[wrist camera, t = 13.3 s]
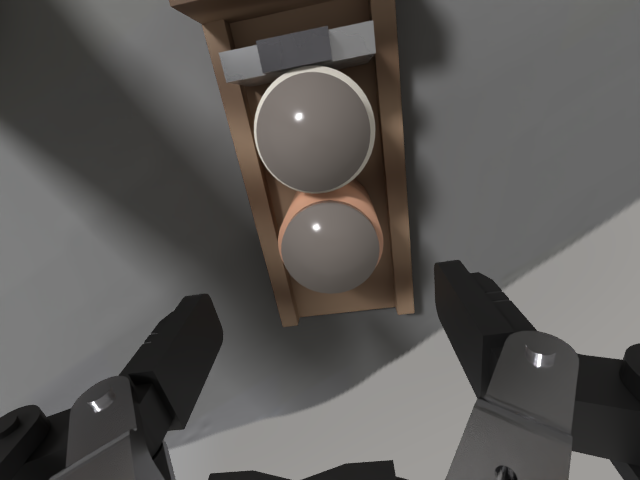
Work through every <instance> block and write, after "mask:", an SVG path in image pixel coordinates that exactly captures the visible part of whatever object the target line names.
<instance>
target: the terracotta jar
mask: <svg viewBox="0 0 640 480" xmlns="http://www.w3.org/2000/svg"><path fill="white" fill-rule="evenodd" d="M278 248H279V253H280V256H281V259H282V261H283V263H284V265H285V267H286V269H287V270H288V272H289V274H290V275H291V276H292V277H293V278H294V279H295V280H296V281H297V282H298V283H300V284H301V285H302V286H304V287H306V288H308V289H310V290H313V291H316V292H320V293H329V294H333V293H342V292H346V291H349V290H351V289H354V288H356V287H357V286H359V285H361V284H362V283H363V282H364V281H366V280H367V279H368V278H369V276H370V275H371V274H372V272H373V271H374V269H375V268H376V266H377V265H378V263H379V261H380V258H381V255H382V252H383V234H382V230H381V227H380V224H379V221H378V218H377V215H376V212H375V210H374V207H373V204H372V201H371V198H370V196H369V194H368V192H367V191H366V189H365V188H364V187H363V186H362V184H360V183H359V182H358V181H357V180H355V179H353V180H352V181H351V182H349V183H348V184H346V185H345V186H343V187H341V188H339V189H336V190H334V191H331V192H327V193H319V194H311V193H304V192H300V191H297V192H296V194H295V196H294V198H293V200H292V202H291V205H290V207H289V209H288V211H287V214H286V216H285V218H284V220H283V223H282V225H281V227H280V231H279V236H278Z"/></svg>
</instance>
